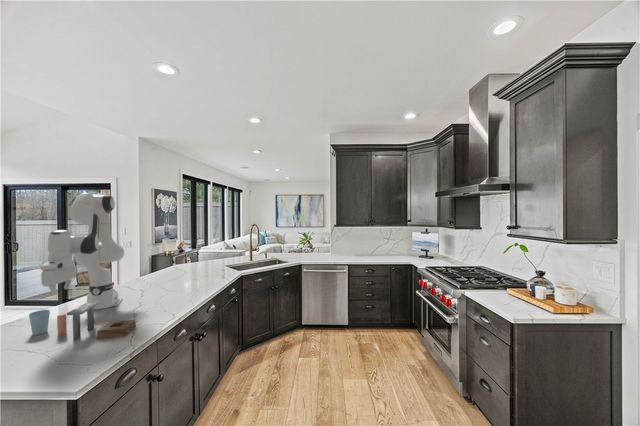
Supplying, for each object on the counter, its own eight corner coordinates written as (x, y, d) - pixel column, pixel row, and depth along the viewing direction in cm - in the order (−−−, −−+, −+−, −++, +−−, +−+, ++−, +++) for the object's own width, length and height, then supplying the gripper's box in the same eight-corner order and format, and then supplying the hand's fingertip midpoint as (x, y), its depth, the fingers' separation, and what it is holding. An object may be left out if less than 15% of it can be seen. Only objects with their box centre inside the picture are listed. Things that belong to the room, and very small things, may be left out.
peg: (60, 334, 147) (59, 314, 147) (68, 333, 148) (67, 313, 147) (55, 336, 144) (55, 316, 143) (64, 336, 144) (63, 315, 144)
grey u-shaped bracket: (85, 328, 153) (85, 303, 153) (99, 327, 155) (98, 302, 154) (67, 340, 139) (67, 312, 139) (82, 339, 140) (81, 311, 140)
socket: (109, 329, 152) (109, 321, 152) (135, 327, 154) (135, 319, 154) (97, 339, 140) (97, 330, 140) (125, 336, 142) (125, 328, 142)
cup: (30, 337, 143) (30, 316, 143) (28, 333, 148) (27, 312, 148) (51, 332, 149) (51, 311, 149) (48, 328, 154) (48, 308, 154)
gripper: (66, 260, 155) (66, 286, 155) (37, 267, 135) (38, 297, 135) (80, 259, 156) (80, 285, 156) (53, 266, 136) (54, 296, 136)
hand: (60, 291), depth 145 cm, fingers open, 8 cm apart
